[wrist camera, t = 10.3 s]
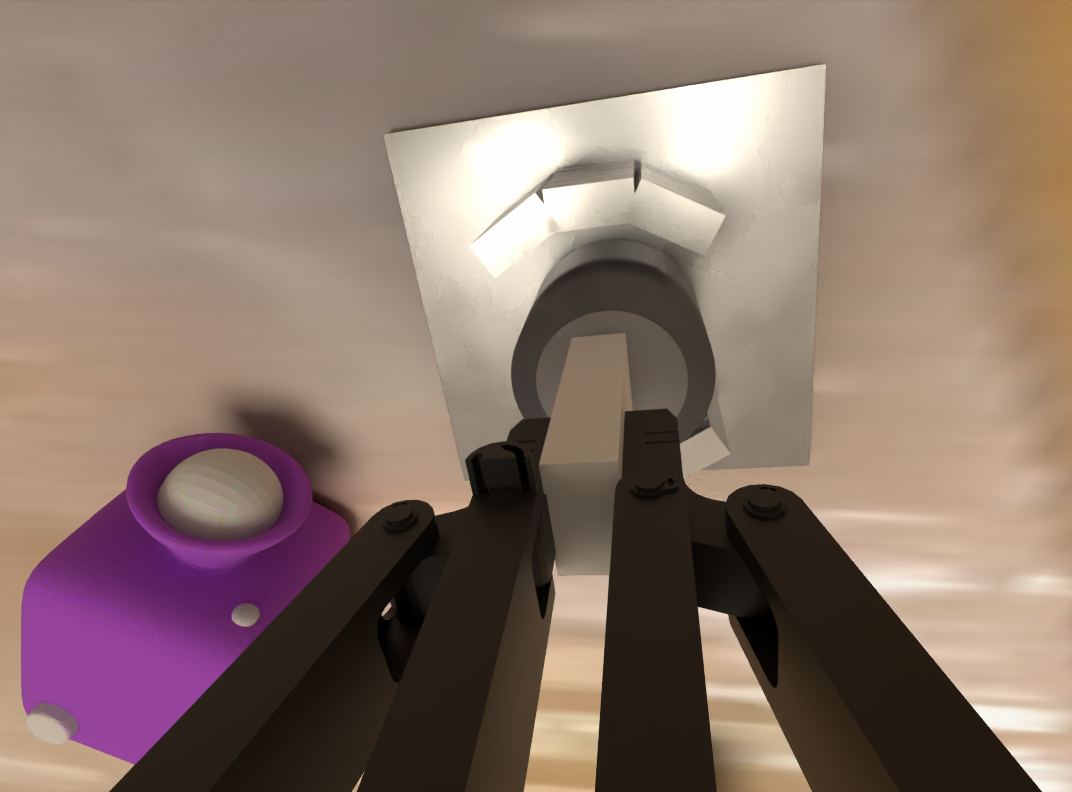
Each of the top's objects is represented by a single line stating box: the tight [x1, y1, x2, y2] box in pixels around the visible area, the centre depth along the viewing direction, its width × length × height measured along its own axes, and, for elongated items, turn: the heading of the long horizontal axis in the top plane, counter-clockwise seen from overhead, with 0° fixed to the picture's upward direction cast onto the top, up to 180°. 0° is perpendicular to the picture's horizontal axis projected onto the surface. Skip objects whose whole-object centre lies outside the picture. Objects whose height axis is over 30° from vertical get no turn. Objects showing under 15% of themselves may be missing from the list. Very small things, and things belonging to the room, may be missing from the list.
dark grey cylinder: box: [511, 240, 716, 444], centre depth 21 cm, size 6×6×5 cm
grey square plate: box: [383, 64, 826, 481], centre depth 22 cm, size 14×14×5 cm
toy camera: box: [21, 433, 350, 764], centre depth 27 cm, size 11×14×10 cm
